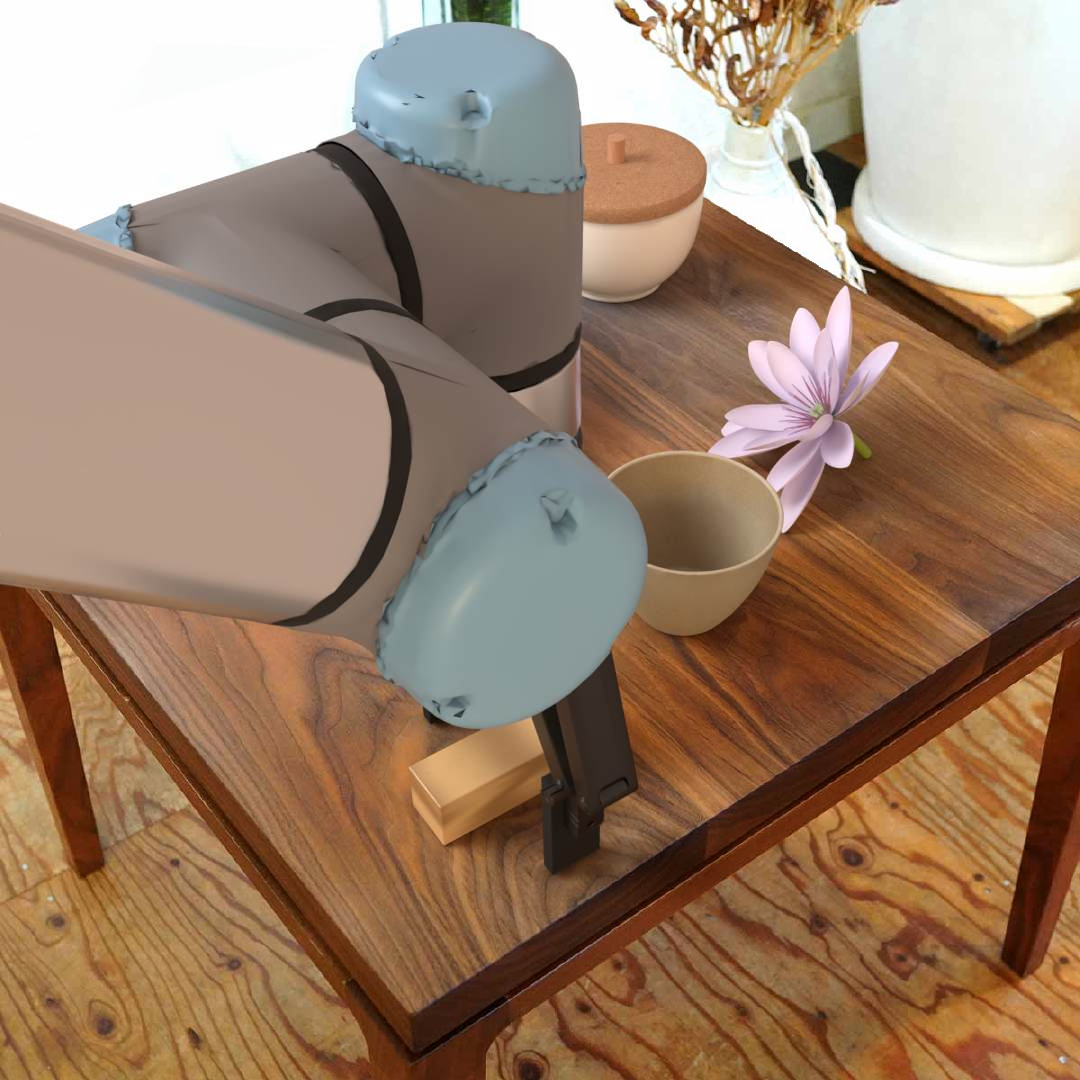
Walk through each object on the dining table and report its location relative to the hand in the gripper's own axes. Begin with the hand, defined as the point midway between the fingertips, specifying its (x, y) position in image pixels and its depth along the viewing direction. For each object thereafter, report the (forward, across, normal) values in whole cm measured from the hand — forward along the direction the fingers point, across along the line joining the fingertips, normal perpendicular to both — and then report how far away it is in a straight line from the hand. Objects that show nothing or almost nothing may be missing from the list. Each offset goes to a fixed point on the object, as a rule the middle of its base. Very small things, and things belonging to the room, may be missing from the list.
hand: (508, 779), depth 73 cm
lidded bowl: (0, +35, -32) cm, 47 cm away
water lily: (0, +11, -28) cm, 30 cm away
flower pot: (0, +5, -15) cm, 16 cm away
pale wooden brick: (0, 0, 0) cm, 0 cm away
